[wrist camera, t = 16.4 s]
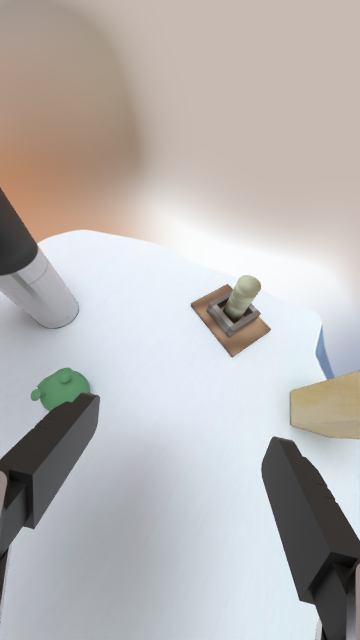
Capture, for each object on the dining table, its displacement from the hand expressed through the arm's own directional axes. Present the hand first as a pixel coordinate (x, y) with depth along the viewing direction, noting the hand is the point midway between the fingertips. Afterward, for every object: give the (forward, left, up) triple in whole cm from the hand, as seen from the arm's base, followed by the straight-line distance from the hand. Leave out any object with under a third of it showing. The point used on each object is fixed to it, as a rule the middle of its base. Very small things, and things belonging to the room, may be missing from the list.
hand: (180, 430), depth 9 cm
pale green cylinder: (-12, +25, -29) cm, 40 cm away
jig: (-12, +25, -31) cm, 41 cm away
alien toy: (-15, -12, -31) cm, 36 cm away
